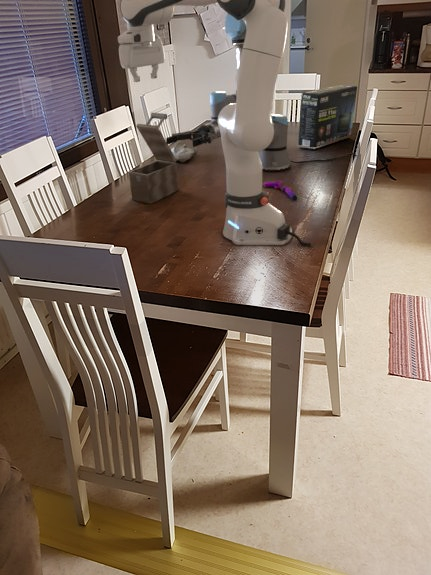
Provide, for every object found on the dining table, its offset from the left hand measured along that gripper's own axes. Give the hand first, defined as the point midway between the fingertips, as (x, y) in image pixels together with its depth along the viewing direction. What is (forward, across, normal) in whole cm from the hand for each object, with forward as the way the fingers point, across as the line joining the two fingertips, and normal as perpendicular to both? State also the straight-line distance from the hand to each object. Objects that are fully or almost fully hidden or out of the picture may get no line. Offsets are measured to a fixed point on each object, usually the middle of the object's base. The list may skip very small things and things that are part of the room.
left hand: (145, 80), depth 164 cm
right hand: (+26, -19, -1) cm, 32 cm away
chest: (+42, +1, 0) cm, 42 cm away
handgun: (+42, -24, +43) cm, 65 cm away
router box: (+42, -104, +31) cm, 116 cm away
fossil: (+42, -46, -24) cm, 67 cm away
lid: (+23, -2, 0) cm, 23 cm away
